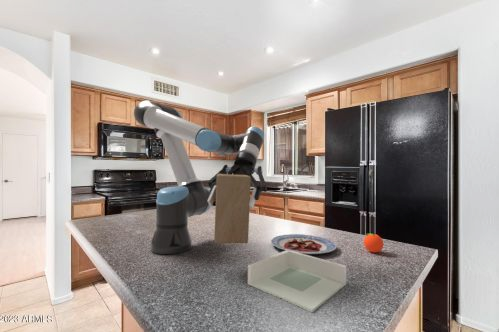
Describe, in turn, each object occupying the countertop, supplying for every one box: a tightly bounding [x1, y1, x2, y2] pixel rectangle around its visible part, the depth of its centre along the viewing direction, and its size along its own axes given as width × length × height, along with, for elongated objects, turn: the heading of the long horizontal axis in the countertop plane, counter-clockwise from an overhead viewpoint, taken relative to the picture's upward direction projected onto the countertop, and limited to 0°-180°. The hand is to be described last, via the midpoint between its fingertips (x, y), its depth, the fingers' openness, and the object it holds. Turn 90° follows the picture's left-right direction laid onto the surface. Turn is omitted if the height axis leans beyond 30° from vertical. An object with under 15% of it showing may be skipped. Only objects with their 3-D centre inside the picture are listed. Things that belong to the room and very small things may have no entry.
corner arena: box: [247, 250, 347, 313], centre depth 68 cm, size 19×19×5 cm
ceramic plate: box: [270, 233, 338, 255], centre depth 101 cm, size 26×26×3 cm
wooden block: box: [213, 173, 251, 244], centre depth 78 cm, size 10×10×20 cm
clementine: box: [361, 233, 384, 254], centre depth 98 cm, size 8×7×7 cm
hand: (229, 205), depth 77 cm, fingers closed on wooden block, 13 cm apart
